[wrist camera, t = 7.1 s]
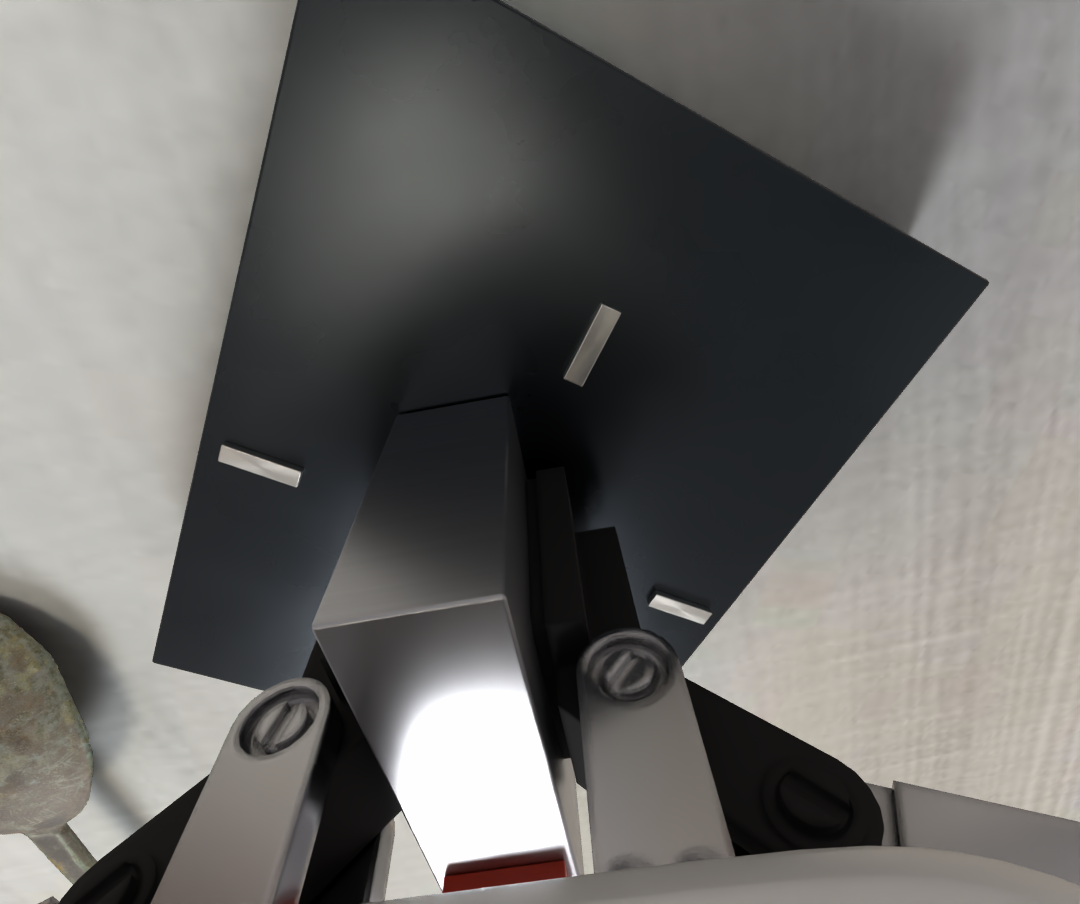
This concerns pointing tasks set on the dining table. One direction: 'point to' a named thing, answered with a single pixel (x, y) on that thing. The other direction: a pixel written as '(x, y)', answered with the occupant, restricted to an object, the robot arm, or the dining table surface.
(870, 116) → the dining table surface
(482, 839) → the tap handle
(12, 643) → the soupspoon
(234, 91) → the dining table surface
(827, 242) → the plate
